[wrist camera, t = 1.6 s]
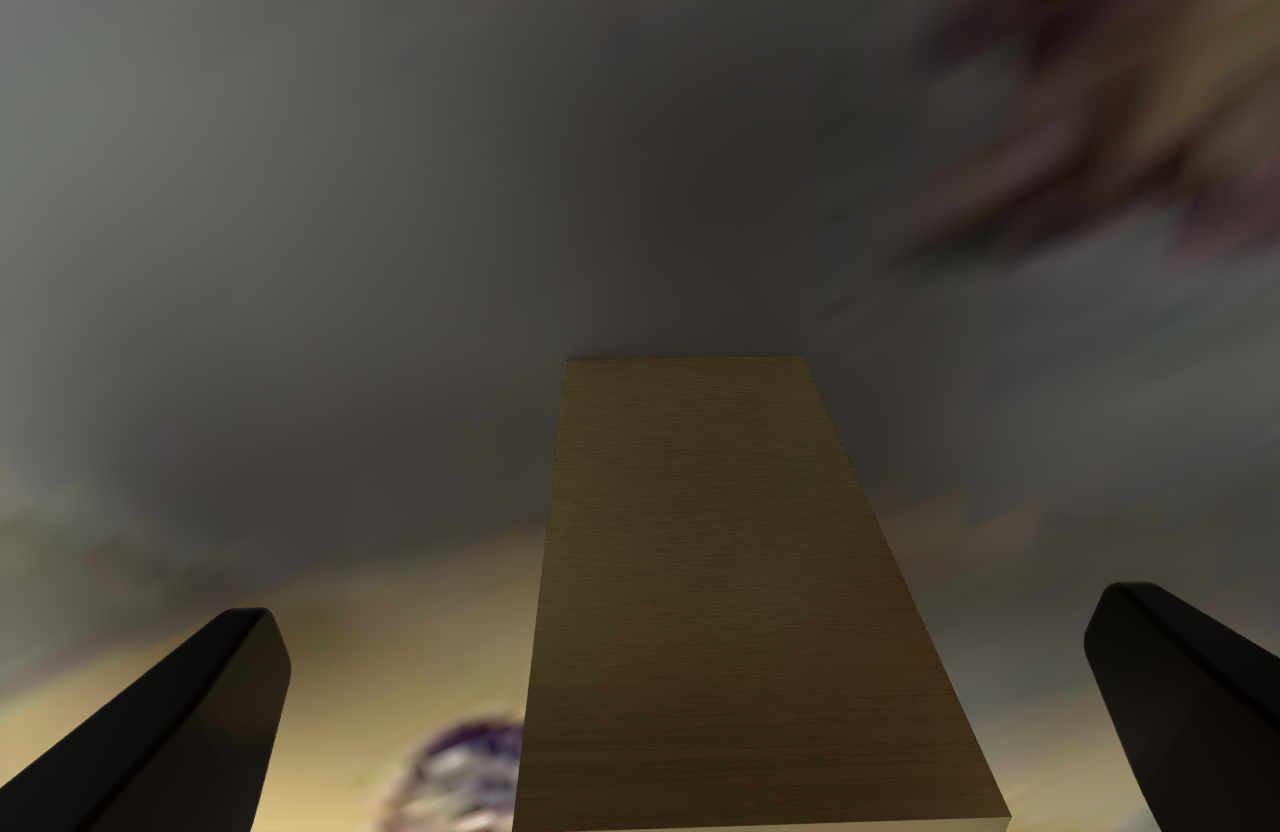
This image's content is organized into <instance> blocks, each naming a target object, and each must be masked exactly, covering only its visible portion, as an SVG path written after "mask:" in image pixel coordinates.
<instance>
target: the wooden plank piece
mask: <svg viewBox="0 0 1280 832" xmlns="http://www.w3.org/2000/svg"><path fill="white" fill-rule="evenodd" d="M1011 818H1012V816H1011V814H1010V812H1009V810H1008V807H1007V805H1006V803H1005V801H1004V799H1003V796H1002V794H1001V792H1000V790H999V788H998V785H997V783H996V781H995V779H994V777H993V774H992V772H991V770H990V768H989V766H988V764H987V761H986V759H985V757H984V755H983V753H982V750H981V748H980V746H979V744H978V742H977V739H976V737H975V735H974V733H973V731H972V728H971V726H970V724H969V722H968V720H967V717H966V715H965V713H964V711H963V709H962V706H961V704H960V702H959V700H958V698H957V695H956V693H955V691H954V689H953V687H952V684H951V682H950V680H949V678H948V676H947V673H946V671H945V669H944V667H943V665H942V662H941V660H940V658H939V656H938V654H937V652H936V649H935V647H934V645H933V643H932V641H931V638H930V636H929V634H928V632H927V630H926V627H925V625H924V623H923V621H922V619H921V616H920V614H919V612H918V610H917V608H916V605H915V603H914V601H913V599H912V597H911V594H910V592H909V590H908V588H907V586H906V583H905V581H904V579H903V577H902V575H901V572H900V570H899V568H898V566H897V564H896V561H895V559H894V557H893V555H892V553H891V550H890V548H889V546H888V544H887V542H886V540H885V537H884V535H883V533H882V531H881V529H880V526H879V524H878V522H877V520H876V518H875V515H874V513H873V511H872V509H871V507H870V504H869V502H868V500H867V498H866V496H865V493H864V491H863V489H862V487H861V485H860V482H859V480H858V478H857V476H856V474H855V471H854V469H853V467H852V465H851V463H850V460H849V458H848V456H847V454H846V452H845V449H844V447H843V445H842V443H841V441H840V438H839V436H838V434H837V432H836V430H835V427H834V425H833V423H832V421H831V419H830V417H829V414H828V412H827V410H826V408H825V406H824V403H823V401H822V399H821V397H820V395H819V392H818V390H817V388H816V386H815V384H814V381H813V379H812V377H811V375H810V373H809V370H808V368H807V366H806V364H805V362H804V359H803V357H802V355H786V356H739V357H691V358H644V359H597V360H566V366H565V374H564V383H563V392H562V401H561V409H560V418H559V427H558V435H557V444H556V453H555V461H554V470H553V479H552V487H551V496H550V505H549V514H548V522H547V531H546V540H545V548H544V557H543V566H542V574H541V583H540V592H539V601H538V609H537V618H536V627H535V635H534V644H533V653H532V661H531V670H530V679H529V688H528V696H527V705H526V714H525V722H524V731H523V740H522V748H521V757H520V766H519V775H518V783H517V792H516V801H515V809H514V818H513V827H512V832H1005V831H1006V829H1007V826H1008V824H1009V822H1010V820H1011Z"/></svg>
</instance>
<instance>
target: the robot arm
mask: <svg viewBox="0 0 1280 832" xmlns="http://www.w3.org/2000/svg"><path fill="white" fill-rule="evenodd" d="M1084 649H1085V654H1086V657H1087V660H1088V662H1089V665H1090V667H1091V670H1092V672H1093V675H1094V677H1095V680H1096V682H1097V685H1098V687H1099V690H1100V692H1101V695H1102V697H1103V699H1104V702H1105V704H1106V707H1107V709H1108V712H1109V714H1110V717H1111V719H1112V722H1113V724H1114V727H1115V729H1116V732H1117V734H1118V737H1119V739H1120V742H1121V744H1122V747H1123V749H1124V752H1125V754H1126V757H1127V759H1128V762H1129V764H1130V766H1131V769H1132V771H1133V773H1134V776H1135V778H1136V780H1137V783H1138V785H1139V787H1140V789H1141V792H1142V794H1143V796H1144V798H1145V800H1146V802H1147V804H1148V806H1149V808H1150V810H1151V812H1152V814H1153V816H1154V818H1155V820H1156V822H1157V824H1158V826H1159V828H1160V830H1161V831H1162V832H1280V658H1278V657H1277V656H1275V655H1273V654H1272V653H1270V652H1268V651H1267V650H1265V649H1263V648H1262V647H1260V646H1258V645H1257V644H1255V643H1253V642H1252V641H1250V640H1248V639H1247V638H1245V637H1243V636H1242V635H1240V634H1238V633H1237V632H1235V631H1233V630H1232V629H1230V628H1228V627H1227V626H1225V625H1223V624H1222V623H1220V622H1218V621H1217V620H1215V619H1213V618H1211V617H1210V616H1208V615H1206V614H1205V613H1203V612H1201V611H1200V610H1198V609H1196V608H1195V607H1193V606H1191V605H1190V604H1188V603H1186V602H1185V601H1183V600H1181V599H1180V598H1178V597H1176V596H1175V595H1173V594H1171V593H1170V592H1168V591H1166V590H1165V589H1163V588H1161V587H1159V586H1158V585H1156V584H1153V583H1150V582H1116V583H1112V584H1110V585H1109V586H1107V587H1106V588H1105V590H1104V591H1103V593H1102V595H1101V597H1100V600H1099V602H1098V604H1097V606H1096V609H1095V611H1094V613H1093V615H1092V618H1091V620H1090V622H1089V624H1088V626H1087V629H1086V631H1085V634H1084ZM290 676H291V662H290V657H289V654H288V652H287V649H286V646H285V644H284V641H283V639H282V636H281V633H280V631H279V628H278V626H277V623H276V621H275V618H274V616H273V614H272V613H271V612H270V611H269V610H268V609H267V608H262V607H256V608H232V609H228V610H226V611H224V612H222V613H221V614H219V615H218V616H216V617H215V618H214V619H213V620H211V621H210V622H209V623H208V624H206V625H205V626H204V627H203V628H201V629H200V630H199V631H198V632H196V633H195V634H194V635H192V636H191V637H190V638H189V639H187V640H186V641H185V642H184V643H182V644H181V645H180V646H179V647H177V648H176V649H175V650H174V651H172V652H171V653H170V654H169V655H167V656H166V657H165V658H164V659H162V660H161V661H160V662H158V663H157V664H156V665H155V666H153V667H152V668H151V669H150V670H148V671H147V672H146V673H145V674H143V675H142V676H141V677H140V678H138V679H137V680H136V681H135V682H133V683H132V684H131V685H130V686H128V687H127V688H126V689H124V690H123V691H122V692H121V693H119V694H118V695H117V696H116V697H114V698H113V699H112V700H111V701H109V702H108V703H107V704H106V705H104V706H103V707H102V708H101V709H99V710H98V711H97V712H96V713H94V714H93V715H92V716H90V717H89V718H88V719H87V720H85V721H84V722H83V723H82V724H80V725H79V726H78V727H77V728H75V729H74V730H73V731H72V732H70V733H69V734H68V735H67V736H65V737H64V738H63V739H62V740H60V741H59V742H58V743H56V744H55V745H54V746H53V747H51V748H50V749H49V750H48V751H46V752H45V753H44V754H43V755H41V756H40V757H39V758H38V759H36V760H35V761H34V762H33V763H31V764H30V765H29V766H28V767H26V768H25V769H24V770H22V771H21V772H20V773H19V774H17V775H16V776H15V777H14V778H12V779H11V780H10V781H9V782H7V783H6V784H5V785H4V786H2V787H1V788H0V832H250V831H251V828H252V825H253V822H254V818H255V815H256V811H257V808H258V804H259V801H260V797H261V793H262V789H263V785H264V781H265V777H266V773H267V769H268V765H269V761H270V757H271V753H272V749H273V745H274V741H275V738H276V734H277V730H278V726H279V722H280V718H281V714H282V710H283V706H284V702H285V698H286V694H287V690H288V686H289V682H290Z"/></svg>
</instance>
